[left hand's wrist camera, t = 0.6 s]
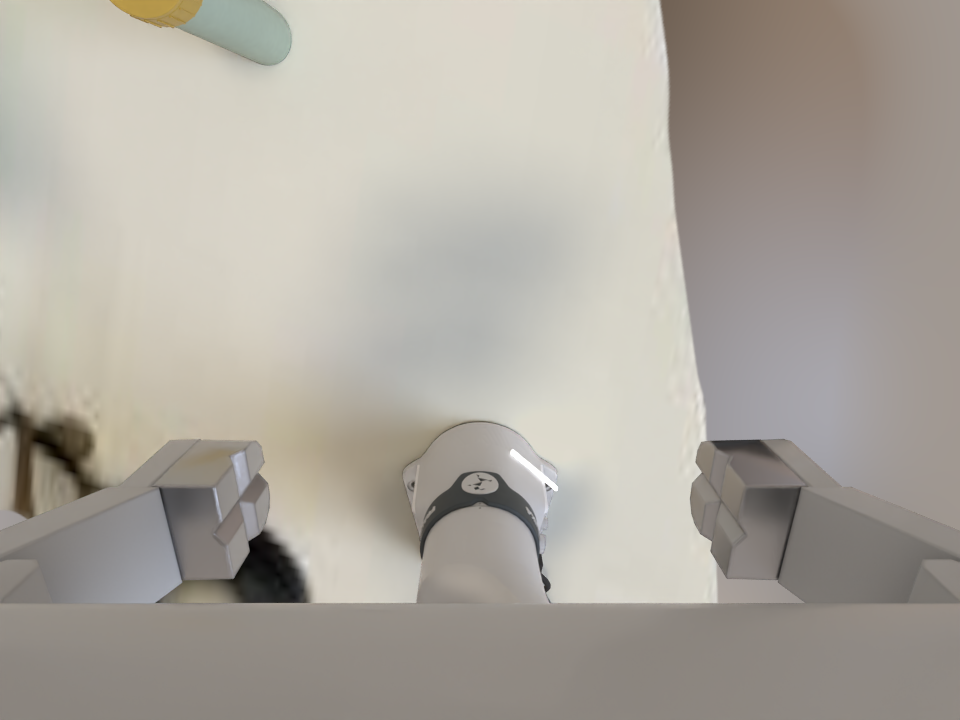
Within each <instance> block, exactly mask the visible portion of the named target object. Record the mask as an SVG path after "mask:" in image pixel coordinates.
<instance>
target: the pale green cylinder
mask: <svg viewBox="0 0 960 720" xmlns="http://www.w3.org/2000/svg"><path fill="white" fill-rule="evenodd" d="M176 27H177V28H179V29H181V30H183V31H186V32H188V33H190V34H193V35H195V36H197V37H200V38H202V39H204V40H207V41H209V42H211V43H213V44H216V45H218V46H220V47H223V48H225V49H227V50H230V51H232V52H234V53H237V54H239V55H241V56H243V57H246V58H248V59H250V60H253V61H255V62H257V63H260V64H263V65H275V64H277V63H279V62H281V61H282V60H283V59H284V58H285V57H286V56H287V54H288V52H289V50H290V46H291V32H290V29H289V26H288V24H287V22H286V20H285V19H284V17H283V16H282V15H281V14H280V13H279V12H278V11H276V10H275V9H274V8H272V7H271V6H270V5H268V4H267V3H266V2H264V1H263V0H203V2H202V6H201V7H200V9H199V10H198V12H197V13H196V15H195V17H193V18H192V19H191V20H189V21H188V22H186V24H185V25H184V24H182V25H180V26H176Z"/></svg>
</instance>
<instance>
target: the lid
mask: <svg viewBox="0 0 960 720" xmlns="http://www.w3.org/2000/svg"><path fill="white" fill-rule="evenodd" d="M110 1H111V2H112V3H113V4H114V5H115V6H117V7H118V8H119V9H121V10H122V11H124V12H126V13H128V14H130V16H131V17H134V18H136V19H139V20H141V21H143V22H146V23H150V24H153V25H155V26H157V27H160V28H162V27H171V28H174V27H176V26H180V25H182V24H184V25H185V24H186V22H188V21H189V20H191V19H192V18H193V17H195V15H196V13H197V12H198V10H199V9H200V7H201V6H202V2H203V0H110Z"/></svg>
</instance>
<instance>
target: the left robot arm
mask: <svg viewBox="0 0 960 720" xmlns="http://www.w3.org/2000/svg"><path fill="white" fill-rule="evenodd" d="M263 464H264V457H263V452H262V447H261V445H260V444H259V443H258V442H257V441H244V440H201V439H187V440H170V441H169V442H168V443H167V444H165V445H164V446H163V447H162V448H161V449H160V450H159V451H158V452H156V453H155V454H154V455H153V456H152V457H151V458H150V459H149V460H148V461H146V462H145V463H144V464H143V465H142V466H141V467H140V468H139V469H137V470H136V471H135V472H134V473H133V474H132V475H131V476H130V477H128V478H127V479H126V480H125V481H124V482H123V483H122V484H121V485H120V486H118V487H107V488H105V489H102V490H100V491H98V492H95V493H93V494H90V495H88V496H85V497H83V498H80V499H78V500H75V501H73V502H70V503H68V504H65V505H63V506H60V507H58V508H55V509H53V510H50V511H48V512H45V513H43V514H40V515H38V516H35V517H33V518H30V519H28V520H25V521H23V522H20V523H18V524H15V525H13V526H10V527H8V528H5V529H3V530H1V531H0V720H960V531H959V530H957V529H954V528H952V527H949V526H947V525H944V524H942V523H939V522H937V521H934V520H932V519H930V518H927V517H925V516H922V515H920V514H917V513H915V512H912V511H910V510H907V509H905V508H902V507H900V506H897V505H895V504H892V503H890V502H887V501H885V500H882V499H880V498H877V497H875V496H872V495H870V494H867V493H865V492H862V491H860V490H857V489H855V488H853V487H842V486H840V485H839V484H838V483H837V482H836V481H835V480H834V479H833V478H832V477H830V476H829V475H828V474H827V473H826V472H825V471H824V470H823V469H822V468H820V467H819V466H818V465H817V464H816V463H815V462H814V461H813V460H811V459H810V458H809V457H808V456H807V455H806V454H805V453H804V452H803V451H801V450H800V449H799V448H798V447H797V446H796V445H795V444H794V443H792V442H791V441H789V440H785V439H773V440H726V441H705V442H701V444H700V446H699V448H698V451H697V456H696V464H697V465H698V467H699V469H700V470H701V472H702V473H701V474H700V475H699V476H698V477H697V478H696V480H695V481H694V482H693V483H692V487H691V495H690V504H691V514H692V517H693V520H694V523H695V525H696V527H697V529H698V531H699V533H700V534H701V535H703V536H704V537H706V538H708V539H709V540H711V541H712V545H711V553H712V555H713V556H714V558H715V560H716V561H717V563H718V565H719V566H720V568H721V570H722V571H723V573H724V575H725V576H726V578H727V579H756V580H778V583H779V584H781V585H782V586H783V587H785V588H786V589H787V590H789V591H790V592H791V593H793V594H794V595H795V596H797V597H798V598H799V599H801V600H802V601H804V602H805V603H550V601H549V599H548V597H547V595H546V592H547V591H548V590H549V589H550V586H551V585H550V582H549V581H548V579H547V578H546V577H545V576H544V575H543V574H542V573H541V571H542V567H543V562H542V556H541V554H543V553H544V551H545V544H546V538H545V535H544V534H541V533H542V530H546V529H547V526H548V518H546V516H547V512H548V509H549V505H550V502H551V498H552V495H553V491H554V490H555V491H557V490H558V488H557V486H556V481H557V470H556V469H555V467H554V466H552V465H551V464H549V463H548V462H546V461H545V460H543V459H541V458H539V457H538V456H537V455H536V453H535V452H534V451H533V449H532V448H531V447H530V445H529V444H528V443H527V442H526V441H525V440H524V439H523V438H522V437H521V436H520V435H519V434H517V433H516V432H514V431H512V430H511V429H509V428H506V427H504V426H501V425H498V424H493V423H487V422H474V423H467V424H462V425H459V426H456V427H454V428H451V429H449V430H448V431H446V432H444V433H443V434H441V435H440V436H439V437H438V438H437V439H436V440H435V441H434V442H433V443H432V444H431V445H430V447H429V448H428V449H427V451H426V452H425V454H424V455H423V456H422V457H421V458H419V459H417V460H415V461H414V462H412V463H411V464H409V465H408V466H406V467H405V469H404V471H403V481H404V484H405V488H406V491H407V495H408V498H409V502H410V505H411V509H412V512H413V515H414V519H415V522H416V526H417V529H418V533H419V536H420V541H421V543H420V553H421V559H422V566H421V573H420V580H419V587H418V594H417V603H155V602H157V601H158V600H159V599H161V598H162V597H163V596H165V595H166V594H167V593H169V592H170V591H171V590H173V589H174V588H175V587H177V586H178V585H180V584H181V583H182V580H203V579H233V578H234V577H235V575H236V573H237V571H238V570H239V568H240V566H241V565H242V563H243V561H244V560H245V558H246V556H247V555H248V553H249V545H248V541H249V540H251V539H252V538H254V537H256V536H257V535H259V534H260V533H261V531H262V529H263V527H264V525H265V523H266V520H267V516H268V512H269V508H270V493H269V487H268V483H267V482H266V481H265V480H264V478H263V477H262V476H261V475H260V474H259V473H258V472H259V470H260V469H261V467H262V465H263ZM412 482H415V484H413V483H412ZM545 482H546V483H547V484H545ZM543 583H544V585H545V586H543Z"/></svg>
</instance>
